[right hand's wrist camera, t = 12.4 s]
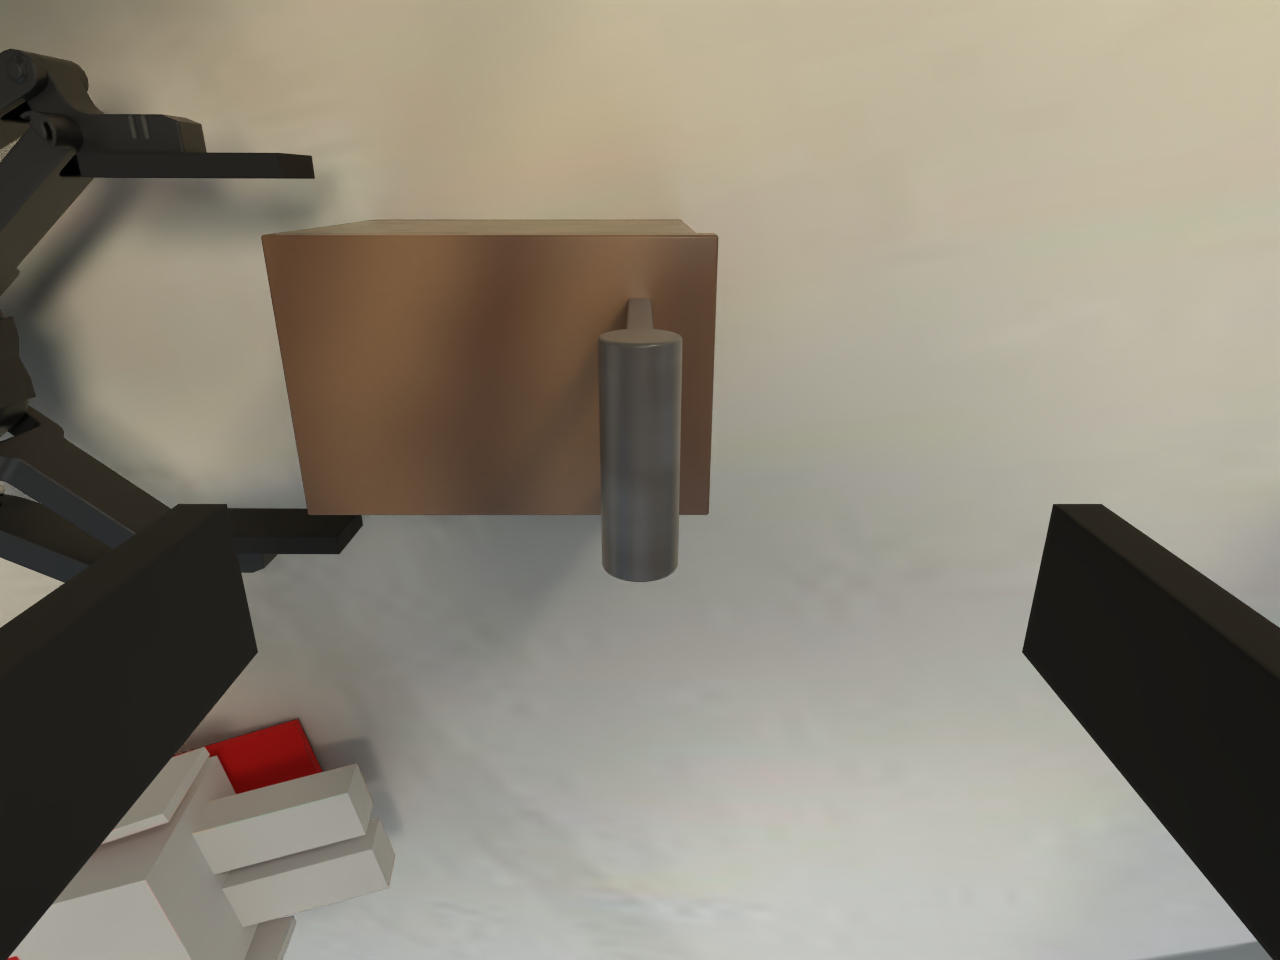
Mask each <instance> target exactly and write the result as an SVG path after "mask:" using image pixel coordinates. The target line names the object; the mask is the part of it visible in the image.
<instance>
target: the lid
mask: <svg viewBox="0 0 1280 960" xmlns="http://www.w3.org/2000/svg"><path fill="white" fill-rule="evenodd" d="M261 239H262V245H263V251H264V257H265V262H266V268H267V274H268V280H269V286H270V292H271V298H272V304H273V310H274V315H275V321H276V327H277V333H278V339H279V345H280V351H281V357H282V363H283V368H284V374H285V380H286V386H287V392H288V398H289V404H290V410H291V416H292V422H293V427H294V433H295V439H296V445H297V451H298V457H299V463H300V469H301V475H302V480H303V486H304V492H305V498H306V504H307V510H308V514H309V515H601V527H602V565H603V567H604V569H605V571H606V572H607V573H608V574H610V575H611V576H613V577H616V578H618V579H621V580H626V581H633V582H647V581H654V580H659V579H662V578H665V577H667V576H669V575H670V574H672V573H673V572H674V571H675V569H676V568H677V565H678V537H679V515H707V514H708V513H709V490H710V461H711V432H712V404H713V375H714V346H715V318H716V289H717V261H718V236H717V235H716V234H714V233H274V234H267V235H262V236H261Z"/></svg>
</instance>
